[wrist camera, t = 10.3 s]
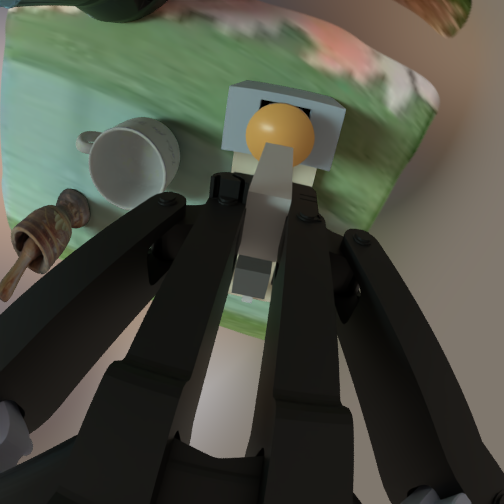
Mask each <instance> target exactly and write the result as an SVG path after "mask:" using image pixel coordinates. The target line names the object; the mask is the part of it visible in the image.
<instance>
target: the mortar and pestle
mask: <svg viewBox="0 0 504 504" xmlns="http://www.w3.org/2000/svg"><path fill="white" fill-rule="evenodd" d="M89 218H90V211H89V207H88V203H87V200H86V197H84V196H83V195H81V194H80V193H78V192H77V191H74V190H72V189H65V190H64V191H63V192H62V193H61V194H60V196H59V197H58V200H57V203H56V206H54V205H47V206H44V207H41V208H39V209H37V210H35V211H33V212H32V213H31V214H29V215H28V216H27V217H26V218H25V219H23V220H22V221H21V222H20V223H18V224H17V225H16V226H15V227H14V228H13V229H12V231H11V240H12V244H13V247H14V249H15V251H16V252H17V254H18V256H19V258H18V260H17V261H16V263H15V264H14V266H13V267H12V268H11V269H10V271H9V272H8V273H7V274H6V276H5V277H4V278H3V279H2V281H1V282H0V299H1V300H2V301H3V302H7V301H8V300H9V299H10V297H11V296H12V294H13V292H14V290H15V288H16V286H17V284H18V282H19V280H20V278H21V276H22V275H23V272H24V271H25V269H26V268H27V267H28V268H29V269H31V270H32V271H34V272H36V273H41V274H44V273H46V272H47V271H48V270H49V269H50V267H51V266H52V265H53V264H54V262H55V261H56V260H57V259H58V257H59V256H60V255H61V254H62V252H63V251H64V250H65V248H66V246H67V244H68V242H69V241H70V238H71V234H72V229H71V228H80V227H82V226H84V225H85V224H87V223H88V221H89Z"/></svg>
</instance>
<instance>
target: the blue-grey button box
mask: <svg viewBox="0 0 504 504" xmlns="http://www.w3.org/2000/svg"><path fill="white" fill-rule="evenodd" d="M262 100H268V101H273V102H278V103H288V104H291V105H294V106H298V107H303V108H307V109H311V111H310V115H309V119H310V121H311V123H312V126H313V129H314V135H315V141H314V146H313V149H312V151H311V153H310V154H309V156H308V157H307V158H306V159H305V160H304V161H303V162H302V163H300V164H301V165H305V166H310V167H314V168H318V169H322V170H326V171H330V168H331V165H332V161H333V157H334V154H335V150H336V146H337V143H338V139H339V135H340V131H341V128H342V124H343V120H344V116H345V112H346V109H345V108H344V107H343V106H342V105H341V104H339V103H338V102H337V101H336V100H335V99H333V98H332V97H329V96H325V95H321V94H317V93H313V92H309V91H304V90H300V89H295V88H290V87H285V86H280V85H274V84H269V83H263V82H256V81H250V80H246V81H243V82H240V83H237V84H234V85H231V86H230V87H229V94H228V101H227V108H226V115H225V123H224V131H223V139H222V147H221V149H223V150H229V151H235V152H241V153H246V154H251V152H250V150H249V148H248V146H247V143H246V129H247V125H248V123H249V121H250V119H251V118H252V116H253V115H254V114H255V113H256V112H257V111H258V110H259V109H261V104H262Z"/></svg>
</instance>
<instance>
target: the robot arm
mask: <svg viewBox="0 0 504 504" xmlns="http://www.w3.org/2000/svg"><path fill="white" fill-rule="evenodd" d="M166 1H168V0H0V7H5V8H7V9H9V8H13V7H20V6H42V5H60V6H76V7H77V8H79V9H80V10H82V11H83V12H85V13H86V14H87V15H89V16H90V17H92V18H94V19H96V20H100V21H104V22H114V23H123V22H129V21H133V20H137V19H140V18H142V17H144V16H146V15H148V14H150V13H152V12H153V11H155V10H156V9H158V8H159V7H161V6H162V5H163V4H164V3H165V2H166ZM292 175H293V148H292V147H287V146H282V145H277V144H272V143H267V142H266V144H265V146H264V149H263V152H262V154H261V157H260V160H259V163H258V165H257V168H256V171H255V174H254V175H250V174H244V173H239V172H234V173H230V172H221V173H216V174H214V175H212V176H211V184H210V194H209V199H208V200H207V202H206V204H203V205H186V198H185V197H184V196H182V195H180V194H178V193H173V192H163V193H158V194H156V195H154V196H152V197H150V198H149V199H147V200H146V201H144V202H143V203H141V204H140V205H138V206H137V207H135V208H134V209H132V210H131V211H129V212H128V213H126V214H125V215H123V216H122V217H120V218H119V219H118V220H116V221H115V222H113V223H112V224H110V225H109V226H108V227H106V228H105V229H104V230H102V231H101V232H99V233H98V234H97V235H95V236H94V237H93V238H91V239H90V240H89V241H87V242H86V243H85V244H83V245H82V246H81V247H79V248H78V249H77V250H75V251H74V252H73V253H72V254H70V255H69V256H68V257H66V258H65V259H64V260H63V261H62V262H60V263H59V264H58V265H57V266H55V267H54V268H53V269H52V270H50V271H49V272H48V273H47V274H46V275H44V276H43V277H42V278H41V279H40V280H38V281H37V282H36V283H35V284H34V285H33V286H31V288H29V289H28V290H27V291H26V292H25V293H23V294H22V295H21V296H20V297H19V298H18V299H17V300H16V301H15V302H14V303H12V304H11V305H10V306H9V307H8V308H7V309H6V310H5V311H4V312H3V313H2V314H1V315H0V504H362V503H361V502H360V500H359V499H358V498H357V497H356V495H355V494H354V493H353V474H354V471H353V470H354V431H353V418H352V414H351V412H350V410H349V408H347V407H345V406H343V405H342V404H341V401H340V383H339V358H338V341H337V335H338V338H339V341H340V344H341V347H342V350H343V353H344V356H345V359H346V362H347V365H348V368H349V371H350V374H351V377H352V381H353V383H354V387H355V390H356V393H357V396H358V400H359V403H360V406H361V410H362V413H363V416H364V420H365V423H366V427H367V430H368V433H369V437H370V441H371V444H372V448H373V451H374V455H375V459H376V463H377V466H378V470H379V474H380V477H381V480H382V483H383V486H384V489H385V491H386V493H387V495H388V498H389V500H390V501H391V503H392V504H504V473H503V471H502V470H501V468H500V467H499V465H498V464H497V462H496V461H495V459H494V458H493V457H492V455H491V454H490V452H489V451H488V449H487V448H486V446H485V445H484V444H483V442H482V440H481V437H480V434H479V432H478V429H477V426H476V424H475V421H474V419H473V416H472V414H471V411H470V409H469V406H468V404H467V401H466V399H465V397H464V394H463V392H462V390H461V388H460V385H459V383H458V381H457V379H456V377H455V375H454V373H453V370H452V368H451V366H450V364H449V362H448V360H447V358H446V356H445V354H444V352H443V350H442V348H441V346H440V344H439V342H438V340H437V338H436V337H435V335H434V333H433V331H432V329H431V327H430V325H429V324H428V322H427V320H426V319H425V316H424V315H423V313H422V311H421V310H420V308H419V306H418V304H417V302H416V301H415V299H414V297H413V296H412V294H411V293H410V291H409V289H408V287H407V286H406V284H405V282H404V281H403V279H402V278H401V276H400V274H399V273H398V271H397V270H396V268H395V266H394V265H393V263H392V262H391V260H390V259H389V257H388V256H387V254H386V253H385V251H384V250H383V248H382V247H381V245H380V244H379V242H378V241H377V240H376V239H375V238H374V237H373V236H372V235H370V234H369V233H368V232H366V231H364V230H358V229H349V230H347V231H346V232H345V234H344V237H343V236H341V235H339V234H336V233H334V232H332V231H330V230H328V229H327V228H326V225H325V220H324V218H323V217H322V216H321V215H320V214H319V213H318V205H317V197H316V192H315V191H314V189H313V188H312V187H311V186H307V185H302V184H298V183H293V182H292ZM150 247H151V248H150ZM149 248H150V249H149ZM238 254H239V255H244V256H249V257H254V258H258V259H263V260H268V261H273V262H276V265H275V269H274V273H273V276H272V280H271V284H270V285H272V291H271V299H270V307H269V314H268V322H267V329H266V336H265V343H264V351H263V357H262V365H261V371H260V378H259V385H258V391H257V398H256V405H255V411H254V417H253V423H252V430H251V436H250V439H249V443H248V446H247V450H246V454H245V457H242V458H223V459H222V458H215V457H212V456H209V455H208V454H205V453H203V452H201V451H199V450H197V449H195V448H193V447H191V446H189V444H190V439H191V432H192V426H193V421H194V417H195V413H196V409H197V406H198V402H199V398H200V395H201V390H202V387H203V383H204V379H205V376H206V372H207V368H208V364H209V360H210V357H211V353H212V349H213V346H214V342H215V338H216V335H217V331H218V328H219V324H220V320H221V317H222V313H223V309H224V306H225V302H226V298H227V295H228V291H229V288H230V284H231V280H232V277H233V273H234V270H235V266H236V262H237V256H238ZM276 260H277V261H276ZM359 288H360V291H361V293H360V291H359ZM154 296H155V297H154ZM153 297H154V299H153V301H152V304H151V305H150V307H149V309H148V311H147V314H146V315H145V317H144V320H143V322H142V324H141V326H140V328H139V330H138V332H137V334H136V336H135V338H134V340H133V342H132V344H131V347H130V349H129V351H128V353H127V355H126V357H125V358H124V359H123V360H121V361H114V362H113V363H112V364H110V365H109V367H108V369H107V370H106V372H105V373H104V376H103V378H102V380H101V382H100V384H99V387H98V389H97V391H96V393H95V396H94V397H93V400H92V402H91V404H90V407H89V409H88V411H87V414H86V416H85V419H84V421H83V423H82V426H81V428H80V431H79V433H78V435H76V436H74V437H72V438H70V439H68V440H66V441H64V442H62V443H61V444H59V445H57V446H55V447H53V448H51V449H49V450H47V451H45V452H43V453H41V454H39V455H38V456H35V457H33V458H31V459H29V460H27V461H25V462H23V463H21V464H19V465H17V463H18V460H19V459H20V458H21V457H22V456H23V455H24V456H27V455H29V454H30V453H31V452H32V450H33V444H32V441H31V439H30V438H29V434H30V433H32V432H33V431H35V430H36V429H37V428H39V427H40V426H41V425H42V424H43V423H44V422H46V421H47V420H48V419H49V418H50V417H51V416H52V415H53V413H54V412H55V411H56V410H57V409H58V408H59V407H60V405H61V404H62V403H63V402H64V401H65V399H66V398H67V397H68V396H69V394H70V393H71V392H72V391H73V390H74V388H75V387H76V386H77V385H78V383H79V382H80V381H81V380H82V379H83V377H84V376H85V375H86V374H87V373H88V371H89V370H90V369H91V368H92V367H93V366H94V364H95V363H96V362H97V361H98V360H99V358H100V357H101V356H102V355H103V354H104V353H105V351H106V350H107V349H108V348H109V347H110V346H111V344H112V343H113V342H114V341H115V340H116V339H117V338H118V336H119V335H120V334H121V333H122V332H123V330H125V328H126V327H127V326H128V325H129V324H130V323H131V322H132V321H133V319H134V318H135V317H136V316H137V315H138V314H139V312H141V310H142V309H143V308H144V307H145V306H146V305H147V304H148V302H150V300H151V299H152V298H153ZM16 465H17V466H16Z"/></svg>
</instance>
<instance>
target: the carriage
mask: <svg viewBox="0 0 504 504" xmlns="http://www.w3.org/2000/svg"><path fill="white" fill-rule="evenodd" d="M250 175H254V174H250ZM271 268H272V261H268V260H263V259H258V258H254V257H249V256H244V255H239V256H238V259H237V263H236V267H235V272H234V279H233V285H232V292H231V293H235V294H240V295H245V296H250V297H255V298H260V299H264V298H265V294H266V291H267V287H268V283H269V279H270V275H271Z"/></svg>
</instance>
